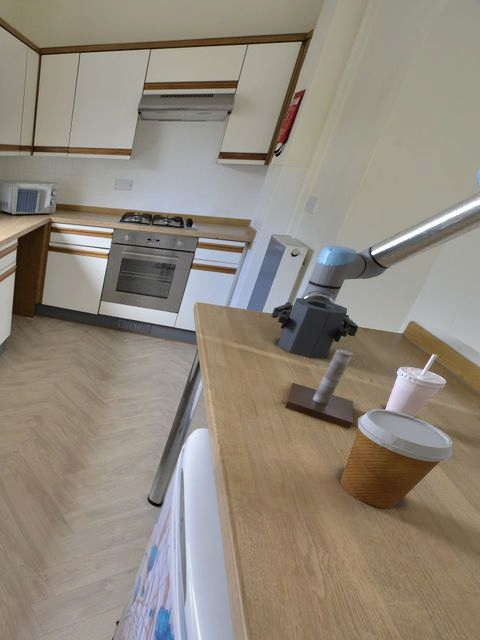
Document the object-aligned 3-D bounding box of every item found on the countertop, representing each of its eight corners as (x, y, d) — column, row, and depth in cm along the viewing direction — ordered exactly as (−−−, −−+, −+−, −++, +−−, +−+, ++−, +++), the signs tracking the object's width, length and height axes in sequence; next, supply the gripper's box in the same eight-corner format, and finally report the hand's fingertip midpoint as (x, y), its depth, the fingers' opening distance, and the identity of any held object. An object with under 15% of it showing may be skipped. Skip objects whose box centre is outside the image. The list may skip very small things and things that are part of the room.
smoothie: (373, 416, 80) (410, 352, 74) (375, 404, 84) (410, 342, 78) (419, 431, 76) (462, 365, 70) (419, 418, 80) (459, 354, 74)
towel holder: (349, 407, 82) (379, 352, 77) (349, 429, 76) (382, 370, 70) (289, 388, 88) (313, 336, 83) (284, 407, 81) (310, 351, 76)
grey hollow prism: (326, 348, 106) (347, 305, 101) (325, 361, 99) (346, 315, 94) (280, 337, 112) (297, 295, 106) (275, 348, 105) (293, 304, 99)
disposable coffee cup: (423, 505, 59) (471, 439, 54) (391, 527, 55) (439, 458, 50) (346, 463, 67) (381, 401, 62) (313, 479, 63) (348, 415, 58)
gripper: (362, 331, 110) (364, 358, 94) (264, 309, 123) (251, 330, 107) (375, 305, 107) (380, 329, 91) (273, 285, 120) (261, 303, 104)
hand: (310, 329), depth 99 cm, fingers closed on grey hollow prism, 10 cm apart
